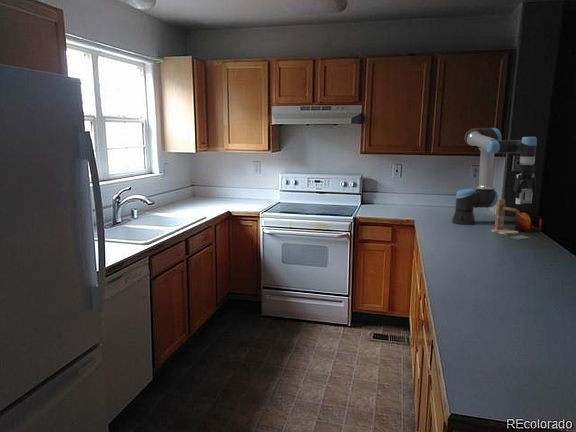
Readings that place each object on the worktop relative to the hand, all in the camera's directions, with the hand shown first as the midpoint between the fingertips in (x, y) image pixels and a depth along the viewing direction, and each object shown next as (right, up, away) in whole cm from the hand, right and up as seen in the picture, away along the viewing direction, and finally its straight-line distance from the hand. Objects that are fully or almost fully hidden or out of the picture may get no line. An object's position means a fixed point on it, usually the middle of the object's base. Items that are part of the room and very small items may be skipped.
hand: (523, 203), depth 251 cm
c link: (0, 0, 0) cm, 0 cm away
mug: (+16, -17, +25) cm, 34 cm away
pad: (0, -20, +4) cm, 21 cm away
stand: (-1, -18, +19) cm, 26 cm away
